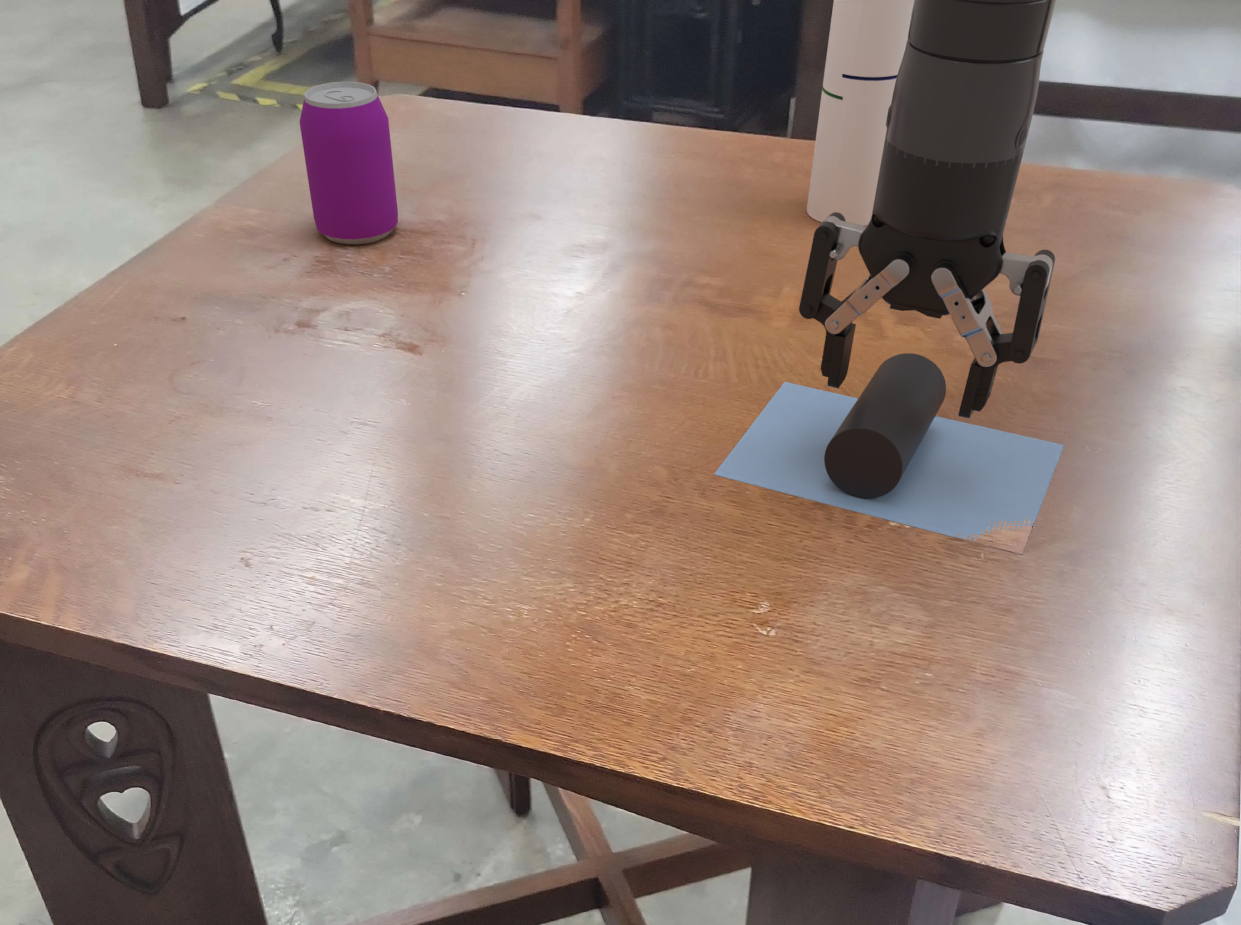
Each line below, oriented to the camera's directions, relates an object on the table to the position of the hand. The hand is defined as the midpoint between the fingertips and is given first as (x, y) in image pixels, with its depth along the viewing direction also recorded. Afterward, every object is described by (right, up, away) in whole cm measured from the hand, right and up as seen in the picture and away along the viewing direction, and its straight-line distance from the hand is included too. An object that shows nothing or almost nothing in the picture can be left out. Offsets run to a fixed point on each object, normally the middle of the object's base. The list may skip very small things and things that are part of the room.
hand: (900, 396), depth 76 cm
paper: (0, -4, +3) cm, 5 cm away
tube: (0, -3, +3) cm, 5 cm away
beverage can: (-41, +23, +33) cm, 58 cm away
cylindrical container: (+5, +26, +36) cm, 44 cm away
